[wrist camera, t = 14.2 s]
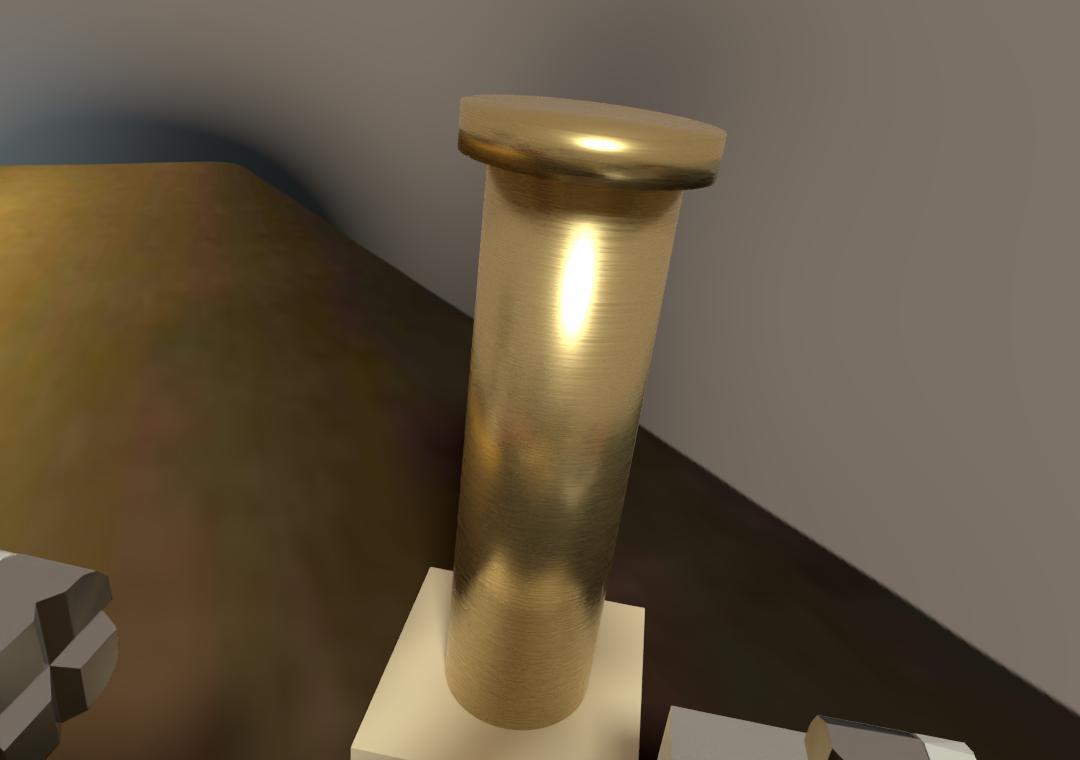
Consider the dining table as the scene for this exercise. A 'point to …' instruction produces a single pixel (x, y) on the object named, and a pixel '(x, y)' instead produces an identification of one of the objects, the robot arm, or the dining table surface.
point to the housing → (726, 739)
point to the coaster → (478, 747)
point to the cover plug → (557, 382)
